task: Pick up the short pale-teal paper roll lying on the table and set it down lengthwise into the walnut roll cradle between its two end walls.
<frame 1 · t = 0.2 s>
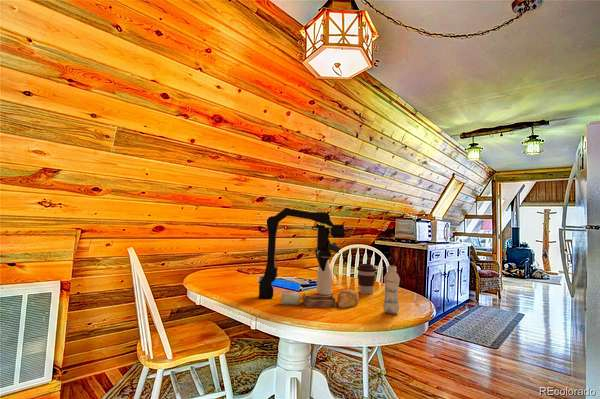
hand: (322, 269, 159), 14 cm above the table, tool pointing down, fingers open, 9 cm apart
plastic bottle: (391, 313, 138), on the table
roll: (290, 304, 147), on the table
cradle: (318, 304, 147), on the table
milk bottle: (324, 293, 169), on the table
coffee cup: (366, 293, 173), on the table
croissant: (347, 304, 151), on the table
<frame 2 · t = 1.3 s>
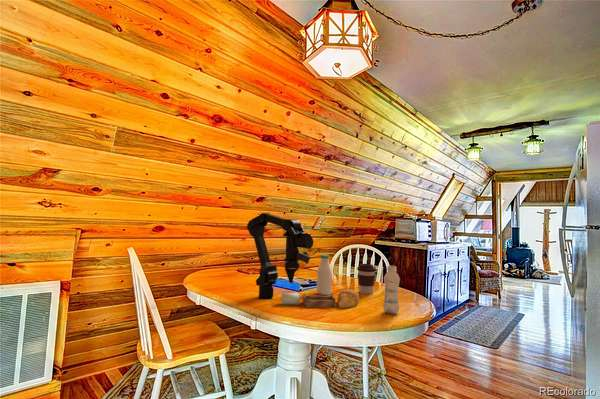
hand: (290, 280, 147), 11 cm above the table, tool pointing down, fingers open, 9 cm apart
nothing on the table moved.
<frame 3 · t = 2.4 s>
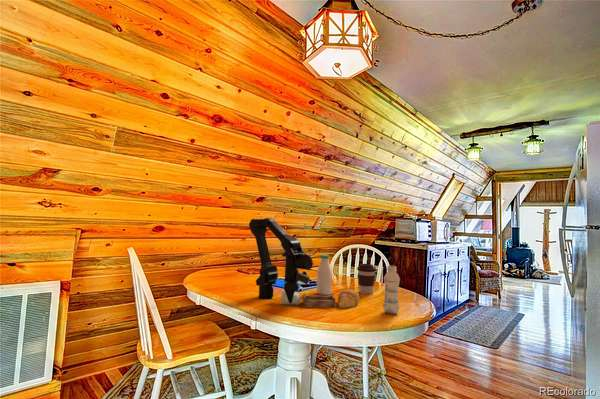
hand: (290, 301, 147), 1 cm above the table, tool pointing down, fingers closed on roll, 5 cm apart
roll: (290, 304, 147), on the table, touching gripper
everything else where it was.
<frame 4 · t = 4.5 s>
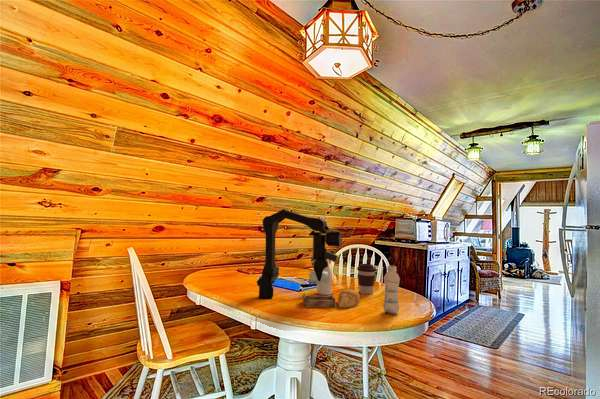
hand: (318, 279, 148), 11 cm above the table, tool pointing down, fingers closed on roll, 5 cm apart
roll: (318, 282, 148), point 10 cm above the table, touching gripper
everything else where it was.
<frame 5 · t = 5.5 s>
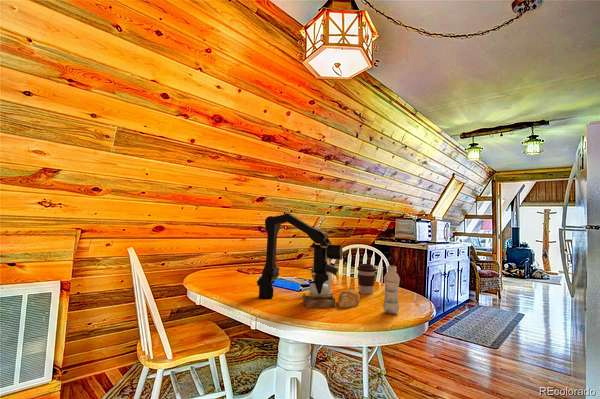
hand: (318, 292, 148), 6 cm above the table, tool pointing down, fingers closed on roll, 5 cm apart
roll: (318, 294, 148), point 4 cm above the table, touching gripper
everything else where it was.
when the fingers open (3 cm above the table, at t = 6.3 s): roll drops 1 cm, resting on cradle.
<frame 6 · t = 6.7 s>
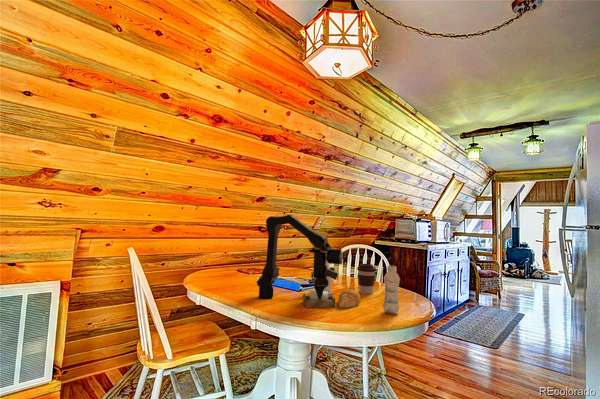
hand: (318, 296, 148), 3 cm above the table, tool pointing down, fingers open, 9 cm apart
roll: (318, 302, 148), point 1 cm above the table, touching cradle
everything else where it was.
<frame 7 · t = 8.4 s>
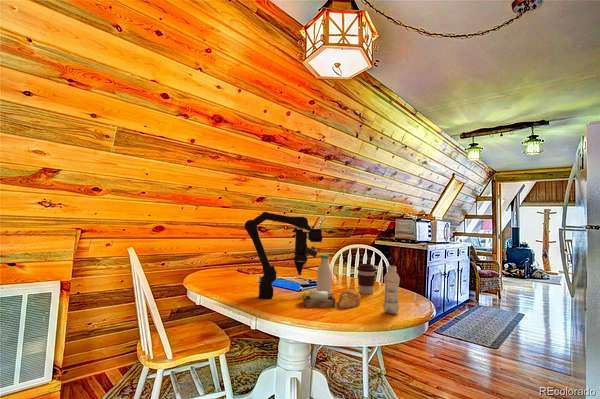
hand: (299, 273, 160), 12 cm above the table, tool pointing down, fingers open, 9 cm apart
nothing on the table moved.
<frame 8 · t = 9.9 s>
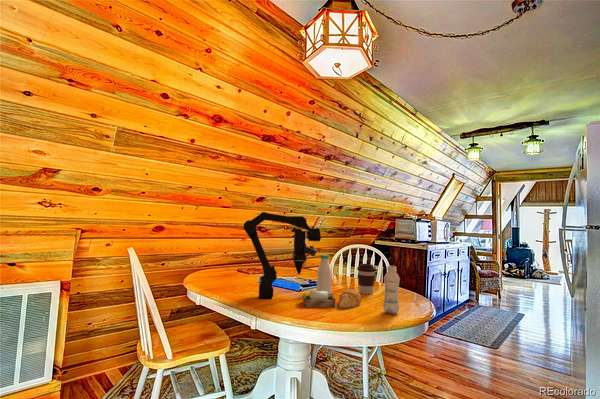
hand: (298, 272, 161), 12 cm above the table, tool pointing down, fingers open, 9 cm apart
at the end: roll 0.1 cm off-centre on the cradle, point 1.0 cm above the cradle's base; the gripper is holding nothing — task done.
